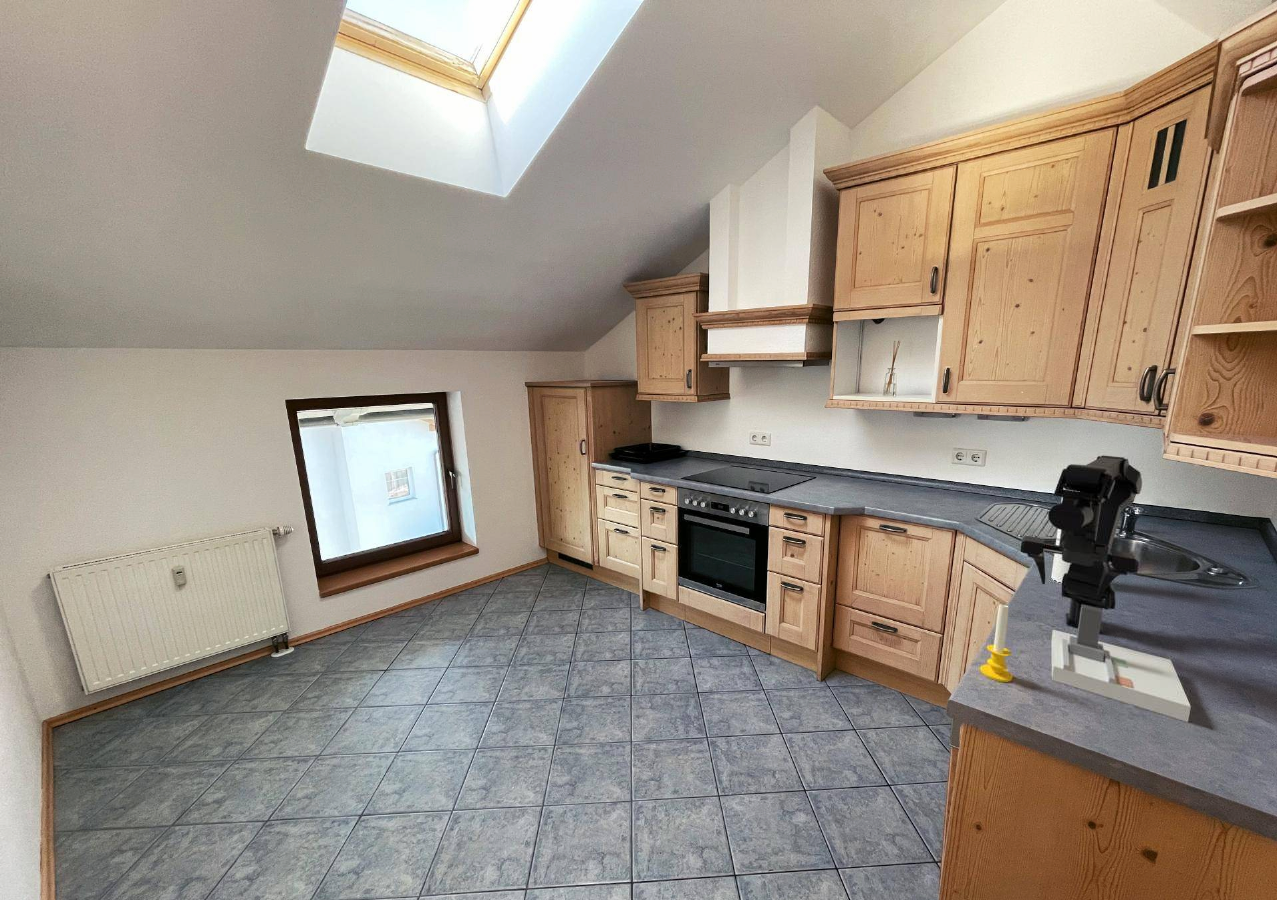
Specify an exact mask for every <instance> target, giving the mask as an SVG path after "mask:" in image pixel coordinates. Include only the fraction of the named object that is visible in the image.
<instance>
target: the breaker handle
mask: <svg viewBox="0 0 1277 900" xmlns="http://www.w3.org/2000/svg"><path fill="white" fill-rule="evenodd" d="M1102 617H1103V610H1102V609H1101V608H1096V607H1092V606H1088V605H1083V604H1082V605H1081V612H1080V619H1079V626H1078V627H1077V633H1076V636H1077V638H1076V637H1072V636H1070V639H1069V653H1072V654H1076V655H1079V656H1083V657H1087V658H1090V659H1094V660H1097V661H1101V662H1103V658H1104V649H1103V644H1099V643H1098V641H1099V638H1100V633H1099V632H1100V626H1101V623H1102Z"/></svg>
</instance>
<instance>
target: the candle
mask: <svg viewBox="0 0 1277 900" xmlns="http://www.w3.org/2000/svg"><path fill="white" fill-rule="evenodd" d="M1008 619H1009V606H1008V605H1005V604H999V605H998V610H997V617H996V623H995V625H996V626H995V635H994V641H993V644H989V645H988V644H987V646H986V648H987V650H988V651H989V652H991V654H990V658H988V659H987V662H986V663H985V664H982V665H981V666H980V669H979V670H980V672H981V673H982V675H984V676H985V677H987V678H989V679H991V680H992V681H997V682H1002V683H1008V682H1009V683H1010V682H1011V681H1012V680H1013V675H1012V673H1010V672H1009V671H1008V670H1007V669H1008V665H1007V663H1006V662H1005V661H1006V658H1005V657H1008V656H1011V655H1012V652H1011V651H1010V650H1009V649H1008V648H1006V647H1005V645H1006V636H1007V628H1008Z"/></svg>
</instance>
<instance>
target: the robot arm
mask: <svg viewBox="0 0 1277 900" xmlns="http://www.w3.org/2000/svg"><path fill="white" fill-rule="evenodd" d="M1129 462H1130V461H1129V459H1128V458H1125V457H1123V456H1111V455H1097V457H1096V459H1095V460H1093V461H1091V462H1089V463H1087V464H1071V463H1070V464H1069V465H1067V466H1066V468H1063V469H1062V471H1061V474H1060V476H1059V480H1058V481H1057V484H1056V488H1055V490H1054V493H1053V496H1054V497H1061V501H1062V503H1061V502H1060V503H1058V504H1056V505H1054V506H1053V507H1051V508H1050V510H1049V511H1048V514H1047V517H1048V520H1049V523H1050V524H1051V525H1052V526H1053V527H1054V528H1056V529H1057V530H1058V529H1060V530H1061V535H1060V542H1059V545H1056V544H1053V543H1046V542H1045V538H1043V537H1035V536H1031V535H1024V536H1023V537H1022V538H1021V544H1020V545H1021V546H1020V551H1019V552H1021V553H1023V554H1027V556H1026V557H1028V558H1031V559H1033V560H1034V562H1035V565H1036V567H1037V570H1038V572H1039V576H1040V577H1039V578H1040V579H1041V584H1042V585H1045V584H1046V562H1045V553H1052V554H1055V553H1056V554H1061V555H1062V560H1063V561H1064V562H1067V563H1071V564H1070V566H1069V569H1068V572H1067V573H1065V574H1064V576H1063V579H1062V584H1061V597H1062V598H1068V599H1070V603H1069V607H1068V608H1069V610H1068V613H1067V612H1066V613H1065V624H1066V625H1067V626H1070V627H1074V628H1078V626H1079V619H1080V612H1081V605H1082V604H1083V605H1088V606H1092V607H1096V608H1101V609H1102V611H1103V609H1104V610H1107V611H1108V610H1112V609H1113V610H1115V609H1116V604H1117V597H1116V596H1117V595H1116V591H1115V589H1114V585H1113V584H1112V582H1113V581H1114V580H1115V579H1116V578H1117V577H1119V576H1120V575H1123V576H1127V575H1128V574H1129V573H1131V574H1138V570H1139V567H1140V566H1139V560H1138V558H1137V557H1136V555H1135V554H1134V553H1133V552H1129V551H1128V552H1127V551H1121V550H1116V549H1112V545H1113V542H1114V539H1115V535H1116V531H1117V528H1118V525H1119V521H1120V516H1121V515H1122V511H1123V510H1124V509H1126V508H1127V507H1129V506H1130V505H1132V504H1133V503H1134V502H1135V500H1136V497H1137V495H1140V494H1141V490H1142V486H1143V481H1142V480H1143V479H1142V473H1141V472H1140V471H1139V470H1138V469H1137V468H1135V467H1133V466H1132V465H1131V464H1130V463H1129ZM1062 497H1063V499H1062ZM1099 634H1104V628H1103V624H1102V622H1101V626H1100V632H1099Z"/></svg>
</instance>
